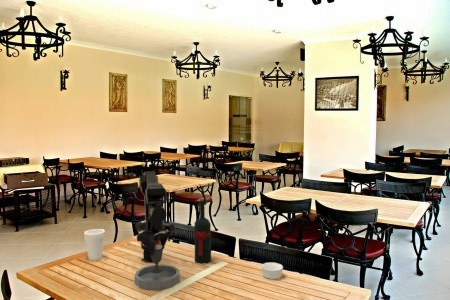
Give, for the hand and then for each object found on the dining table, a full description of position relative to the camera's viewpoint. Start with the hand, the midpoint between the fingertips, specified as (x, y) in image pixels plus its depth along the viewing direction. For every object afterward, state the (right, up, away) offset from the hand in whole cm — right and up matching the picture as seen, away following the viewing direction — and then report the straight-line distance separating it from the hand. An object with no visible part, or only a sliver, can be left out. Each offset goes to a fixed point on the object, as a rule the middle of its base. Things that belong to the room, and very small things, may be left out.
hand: (156, 252), depth 160 cm
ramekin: (+48, -11, +4) cm, 50 cm away
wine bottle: (+18, -10, +21) cm, 29 cm away
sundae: (0, -8, 0) cm, 8 cm away
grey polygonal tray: (0, -12, +1) cm, 12 cm away
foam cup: (-35, -10, +28) cm, 46 cm away
